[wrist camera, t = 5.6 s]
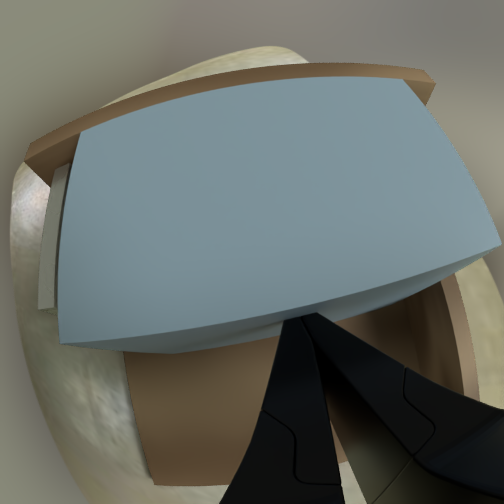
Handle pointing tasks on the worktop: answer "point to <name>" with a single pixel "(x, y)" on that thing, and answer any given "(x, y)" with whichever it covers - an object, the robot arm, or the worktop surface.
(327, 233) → the light blue block
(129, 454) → the worktop surface
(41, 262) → the bookend
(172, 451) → the shelf
